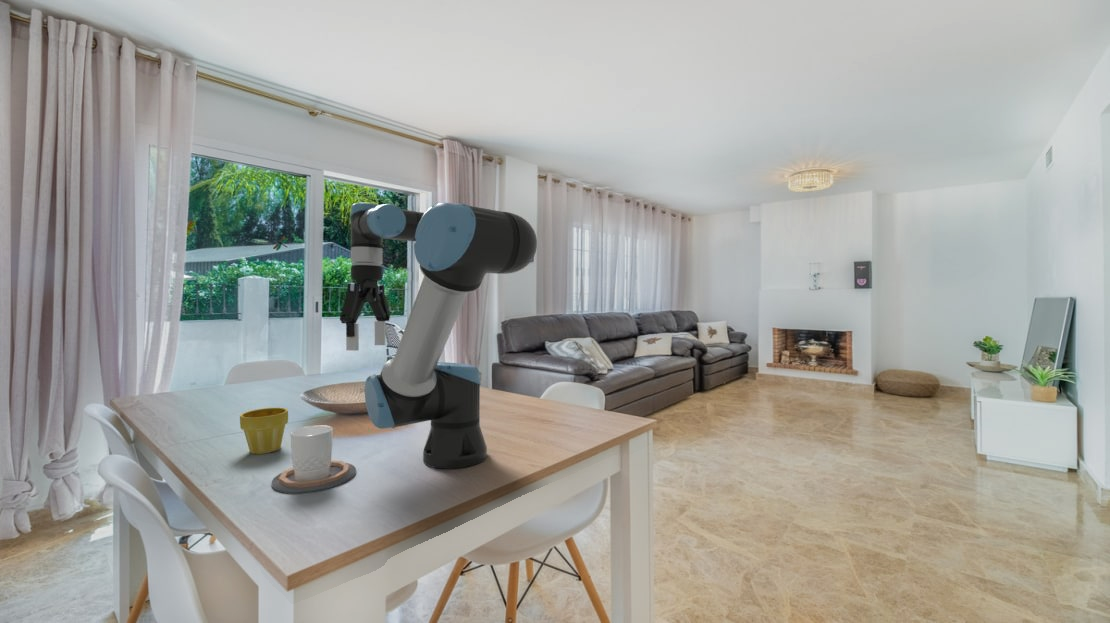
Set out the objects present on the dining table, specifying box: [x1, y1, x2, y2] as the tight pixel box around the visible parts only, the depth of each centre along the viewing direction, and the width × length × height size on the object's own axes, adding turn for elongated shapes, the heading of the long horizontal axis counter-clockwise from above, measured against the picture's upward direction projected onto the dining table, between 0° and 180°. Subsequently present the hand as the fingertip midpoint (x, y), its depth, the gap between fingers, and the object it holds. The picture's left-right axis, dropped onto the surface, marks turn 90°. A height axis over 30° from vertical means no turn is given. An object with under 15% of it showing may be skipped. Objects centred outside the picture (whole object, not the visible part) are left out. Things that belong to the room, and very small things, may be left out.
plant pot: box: [239, 407, 289, 455], centre depth 115 cm, size 10×10×10 cm
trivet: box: [271, 460, 357, 494], centre depth 98 cm, size 16×16×1 cm
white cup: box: [290, 424, 334, 482], centre depth 96 cm, size 8×8×10 cm
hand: (367, 347), depth 117 cm, fingers open, 13 cm apart
